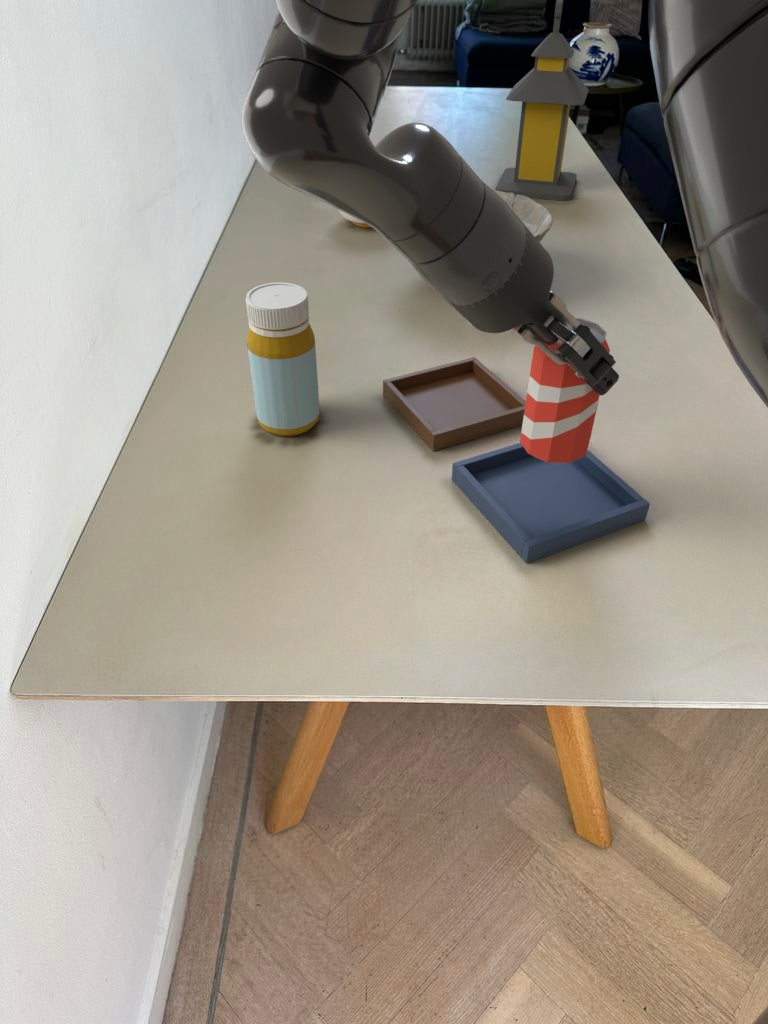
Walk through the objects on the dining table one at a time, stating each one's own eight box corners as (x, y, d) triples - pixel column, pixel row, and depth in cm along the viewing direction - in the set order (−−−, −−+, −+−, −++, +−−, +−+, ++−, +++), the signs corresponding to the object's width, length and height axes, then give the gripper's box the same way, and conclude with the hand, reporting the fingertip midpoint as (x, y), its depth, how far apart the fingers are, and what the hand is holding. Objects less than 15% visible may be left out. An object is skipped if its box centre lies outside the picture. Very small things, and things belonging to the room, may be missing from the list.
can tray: (645, 520, 73) (650, 503, 71) (526, 563, 68) (529, 546, 67) (561, 445, 82) (564, 429, 80) (451, 479, 77) (452, 462, 76)
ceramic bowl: (413, 324, 103) (415, 252, 97) (381, 257, 120) (380, 192, 114) (567, 309, 106) (579, 238, 100) (514, 246, 123) (521, 183, 117)
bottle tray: (530, 423, 85) (532, 407, 84) (432, 451, 81) (433, 435, 80) (473, 371, 94) (474, 356, 92) (382, 395, 89) (382, 379, 88)
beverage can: (516, 429, 73) (532, 314, 65) (582, 431, 73) (607, 315, 65) (522, 467, 69) (540, 348, 61) (593, 469, 68) (620, 350, 61)
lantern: (576, 177, 150) (605, -5, 130) (569, 201, 140) (600, 7, 120) (505, 171, 153) (523, -8, 133) (494, 194, 143) (511, 3, 123)
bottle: (330, 427, 84) (323, 300, 75) (273, 445, 82) (257, 317, 72) (303, 397, 89) (293, 275, 79) (248, 414, 86) (230, 289, 77)
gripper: (575, 249, 49) (672, 371, 60) (462, 183, 58) (564, 299, 70) (496, 341, 50) (605, 442, 62) (399, 262, 60) (509, 362, 72)
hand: (583, 365), depth 66 cm, fingers closed on beverage can, 6 cm apart
